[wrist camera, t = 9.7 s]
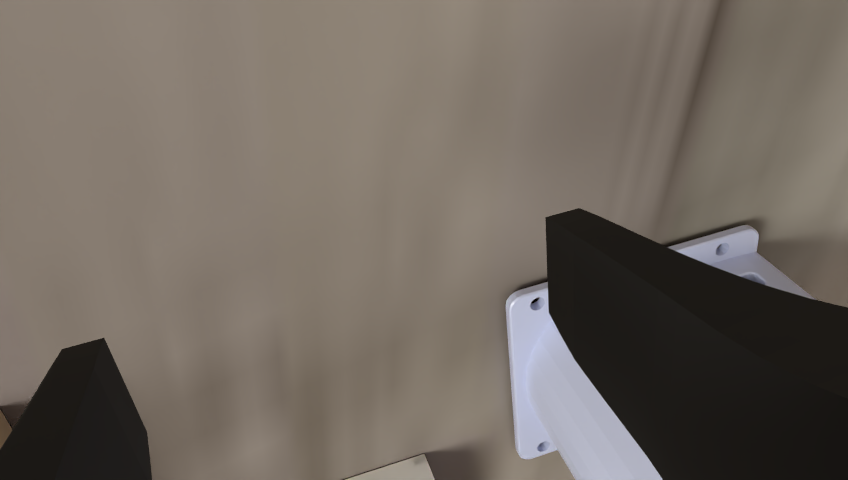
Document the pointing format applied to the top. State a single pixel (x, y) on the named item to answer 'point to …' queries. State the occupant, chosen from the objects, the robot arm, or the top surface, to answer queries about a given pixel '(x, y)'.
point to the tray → (400, 471)
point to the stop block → (4, 429)
